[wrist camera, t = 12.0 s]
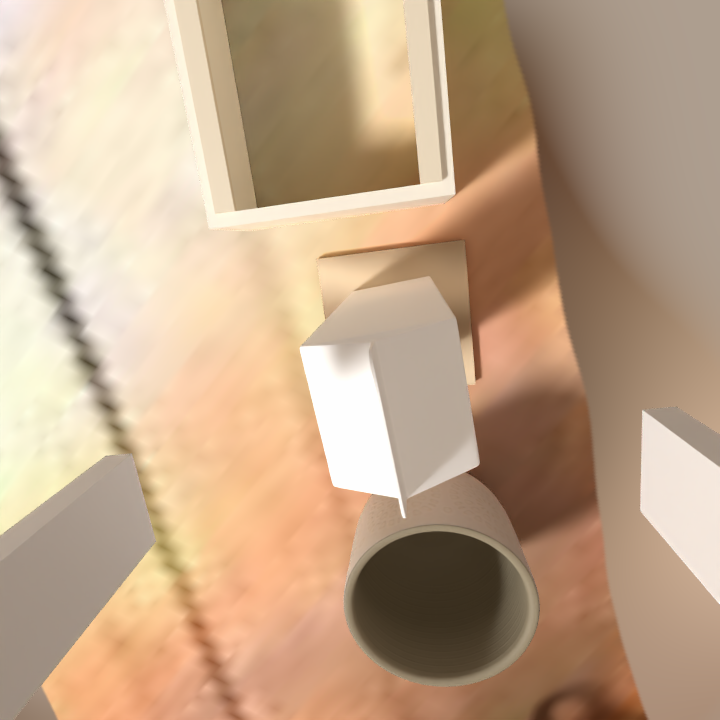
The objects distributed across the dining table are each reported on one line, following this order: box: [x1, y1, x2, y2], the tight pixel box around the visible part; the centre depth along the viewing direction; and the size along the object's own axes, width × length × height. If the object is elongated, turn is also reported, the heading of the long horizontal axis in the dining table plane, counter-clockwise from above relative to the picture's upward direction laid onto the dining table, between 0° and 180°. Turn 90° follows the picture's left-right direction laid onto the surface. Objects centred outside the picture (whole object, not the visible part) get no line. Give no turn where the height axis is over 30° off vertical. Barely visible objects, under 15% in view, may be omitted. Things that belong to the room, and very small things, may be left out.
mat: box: [316, 240, 476, 385], centre depth 37 cm, size 11×11×1 cm
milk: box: [300, 276, 480, 518], centre depth 26 cm, size 6×6×22 cm
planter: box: [344, 472, 540, 687], centre depth 36 cm, size 12×12×11 cm
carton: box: [164, 0, 455, 231], centre depth 29 cm, size 20×15×8 cm
